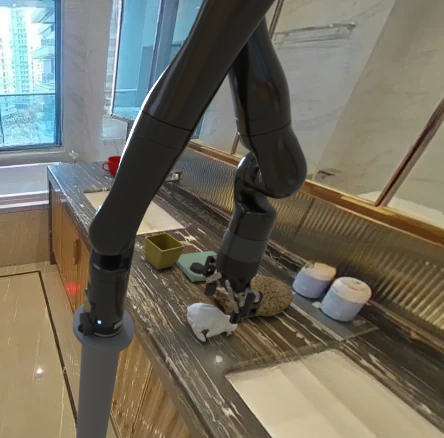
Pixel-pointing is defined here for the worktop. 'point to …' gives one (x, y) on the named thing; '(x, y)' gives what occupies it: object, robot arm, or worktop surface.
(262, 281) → the sponge
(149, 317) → the worktop surface
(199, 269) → the button
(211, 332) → the white animal figurine
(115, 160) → the ceramic cup
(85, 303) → the robot arm
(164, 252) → the flower pot
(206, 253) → the scale
